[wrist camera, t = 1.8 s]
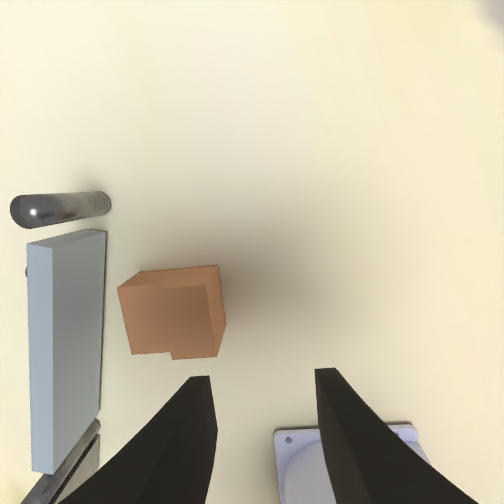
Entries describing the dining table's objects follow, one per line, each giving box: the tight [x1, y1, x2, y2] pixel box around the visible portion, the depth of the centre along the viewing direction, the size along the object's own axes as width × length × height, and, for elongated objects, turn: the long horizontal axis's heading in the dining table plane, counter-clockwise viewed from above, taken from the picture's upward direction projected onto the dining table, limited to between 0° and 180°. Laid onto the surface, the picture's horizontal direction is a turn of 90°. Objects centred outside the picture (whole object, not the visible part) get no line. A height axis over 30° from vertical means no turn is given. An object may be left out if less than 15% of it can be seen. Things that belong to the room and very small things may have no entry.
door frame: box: [10, 192, 111, 504], centre depth 17 cm, size 1×20×6 cm, turn 172°
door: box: [25, 229, 106, 475], centre depth 17 cm, size 2×13×4 cm, turn 171°
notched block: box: [117, 265, 226, 360], centre depth 17 cm, size 5×4×4 cm
